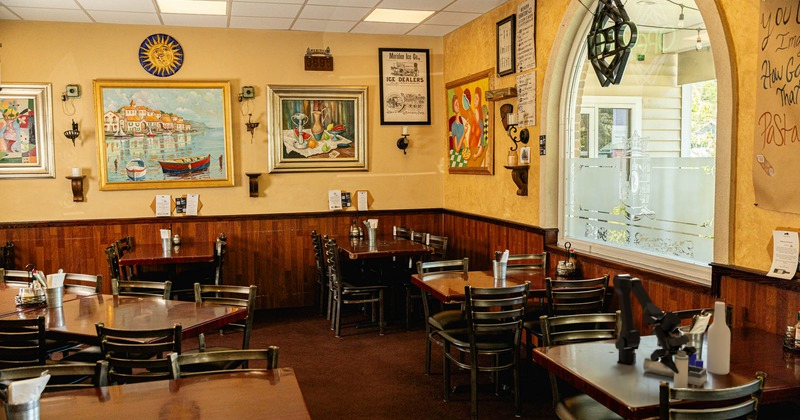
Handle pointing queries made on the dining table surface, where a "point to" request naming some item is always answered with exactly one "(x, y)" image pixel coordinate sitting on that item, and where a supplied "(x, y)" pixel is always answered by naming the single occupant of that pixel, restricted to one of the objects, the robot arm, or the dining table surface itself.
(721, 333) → the alcohol
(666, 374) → the grey cylinder with box
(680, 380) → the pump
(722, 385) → the dining table surface
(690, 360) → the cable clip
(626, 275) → the robot arm
